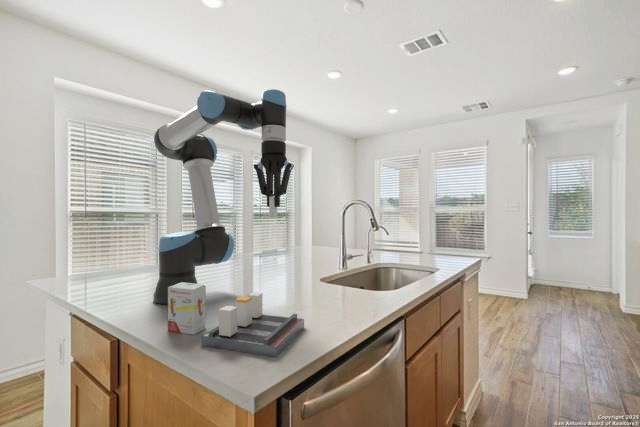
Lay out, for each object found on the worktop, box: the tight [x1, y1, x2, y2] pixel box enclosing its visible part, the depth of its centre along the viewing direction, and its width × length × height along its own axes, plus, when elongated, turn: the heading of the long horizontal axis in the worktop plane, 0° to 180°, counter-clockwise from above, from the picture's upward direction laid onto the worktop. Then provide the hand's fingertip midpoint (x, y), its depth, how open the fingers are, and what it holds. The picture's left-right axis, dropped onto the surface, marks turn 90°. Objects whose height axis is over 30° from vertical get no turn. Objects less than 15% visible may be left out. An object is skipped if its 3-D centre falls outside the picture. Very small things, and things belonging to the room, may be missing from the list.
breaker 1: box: [218, 305, 237, 337], centre depth 75 cm, size 3×3×6 cm
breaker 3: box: [246, 291, 264, 318], centre depth 87 cm, size 3×3×6 cm
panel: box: [201, 313, 305, 358], centre depth 80 cm, size 19×18×4 cm
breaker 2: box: [235, 295, 252, 327], centre depth 81 cm, size 3×3×7 cm
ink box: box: [167, 282, 207, 335], centre depth 84 cm, size 9×5×12 cm, turn 72°
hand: (273, 217), depth 99 cm, fingers closed
